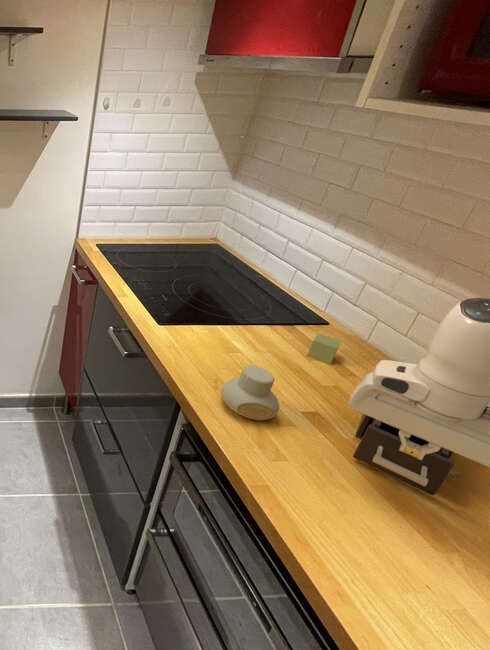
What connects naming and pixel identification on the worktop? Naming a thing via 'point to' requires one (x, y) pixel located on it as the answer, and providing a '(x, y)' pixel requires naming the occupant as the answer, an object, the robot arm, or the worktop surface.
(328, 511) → the worktop surface
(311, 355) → the block
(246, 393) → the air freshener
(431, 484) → the open nightstand drawer
